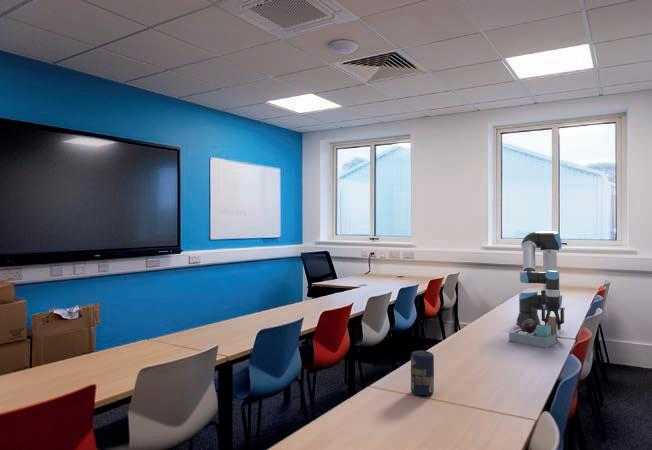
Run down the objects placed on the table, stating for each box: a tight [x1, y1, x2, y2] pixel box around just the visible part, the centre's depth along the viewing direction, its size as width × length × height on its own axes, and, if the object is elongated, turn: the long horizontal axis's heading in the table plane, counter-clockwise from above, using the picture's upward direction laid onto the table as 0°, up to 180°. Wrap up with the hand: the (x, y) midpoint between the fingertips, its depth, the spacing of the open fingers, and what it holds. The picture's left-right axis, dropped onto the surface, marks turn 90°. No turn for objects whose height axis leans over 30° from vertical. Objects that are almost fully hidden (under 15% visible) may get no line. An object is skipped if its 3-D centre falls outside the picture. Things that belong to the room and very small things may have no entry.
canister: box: [410, 350, 435, 396], centre depth 190 cm, size 10×10×18 cm
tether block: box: [535, 315, 558, 339], centre depth 273 cm, size 19×6×12 cm, turn 133°
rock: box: [519, 319, 537, 334], centre depth 290 cm, size 12×9×10 cm
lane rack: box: [508, 328, 557, 349], centre depth 269 cm, size 14×22×5 cm, turn 43°
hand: (552, 333), depth 277 cm, fingers closed on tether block, 5 cm apart
